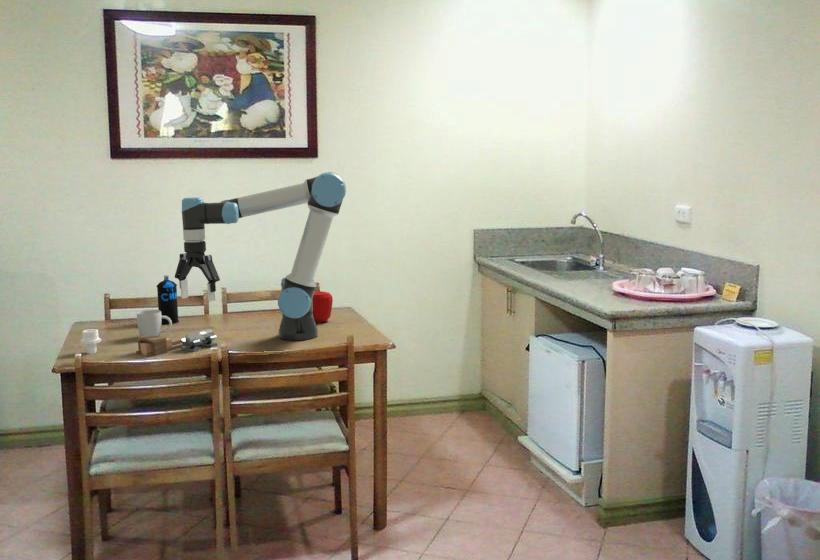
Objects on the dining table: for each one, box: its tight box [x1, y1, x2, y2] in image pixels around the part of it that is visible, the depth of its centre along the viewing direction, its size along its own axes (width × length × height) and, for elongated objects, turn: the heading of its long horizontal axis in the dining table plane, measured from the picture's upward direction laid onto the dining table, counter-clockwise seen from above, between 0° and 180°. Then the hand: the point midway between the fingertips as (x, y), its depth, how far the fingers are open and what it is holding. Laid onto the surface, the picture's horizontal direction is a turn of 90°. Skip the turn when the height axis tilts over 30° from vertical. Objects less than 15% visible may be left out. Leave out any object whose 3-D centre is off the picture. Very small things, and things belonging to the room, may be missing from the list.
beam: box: [135, 335, 184, 357], centre depth 281 cm, size 9×21×5 cm, turn 148°
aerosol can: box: [156, 274, 180, 325], centre depth 325 cm, size 8×8×20 cm
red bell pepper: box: [312, 289, 334, 324], centre depth 327 cm, size 10×10×14 cm
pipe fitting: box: [79, 328, 102, 355], centre depth 276 cm, size 6×7×8 cm
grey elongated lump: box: [184, 328, 215, 345], centre depth 283 cm, size 10×4×4 cm, turn 147°
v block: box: [179, 334, 218, 353], centre depth 283 cm, size 7×11×4 cm, turn 148°
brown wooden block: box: [140, 337, 173, 356], centre depth 278 cm, size 3×10×4 cm, turn 141°
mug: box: [136, 309, 173, 337], centre depth 299 cm, size 13×9×10 cm
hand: (198, 299), depth 282 cm, fingers open, 13 cm apart
